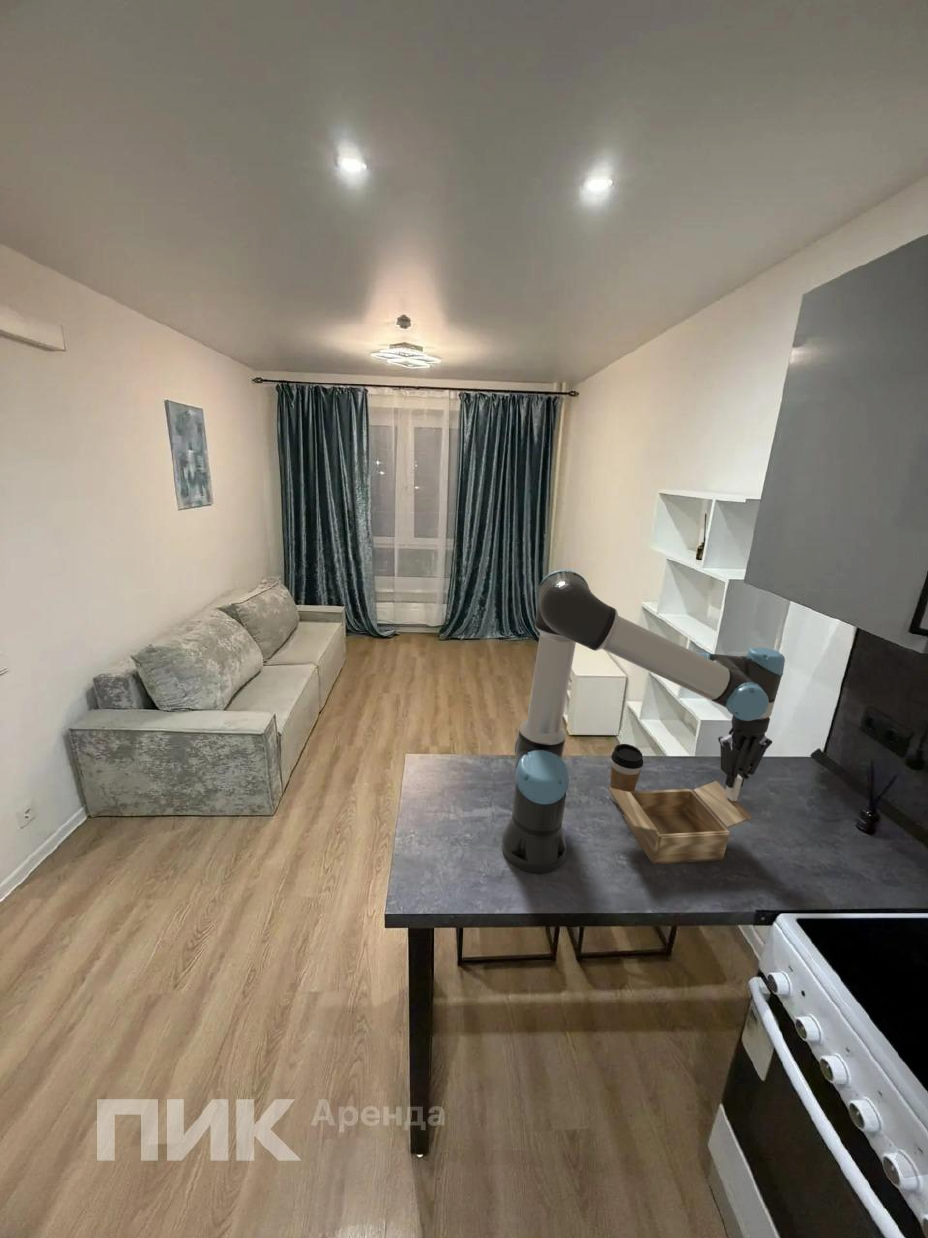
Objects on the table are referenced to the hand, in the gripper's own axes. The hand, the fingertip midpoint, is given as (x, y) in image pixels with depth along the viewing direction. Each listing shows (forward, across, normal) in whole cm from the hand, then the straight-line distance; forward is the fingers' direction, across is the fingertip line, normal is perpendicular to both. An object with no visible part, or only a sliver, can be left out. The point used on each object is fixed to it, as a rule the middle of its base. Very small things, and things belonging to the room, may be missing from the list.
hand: (730, 797), depth 124 cm
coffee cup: (+12, -20, +16) cm, 28 cm away
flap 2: (+3, -5, 0) cm, 6 cm away
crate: (+11, -14, 0) cm, 18 cm away
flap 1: (+3, -23, 0) cm, 23 cm away
